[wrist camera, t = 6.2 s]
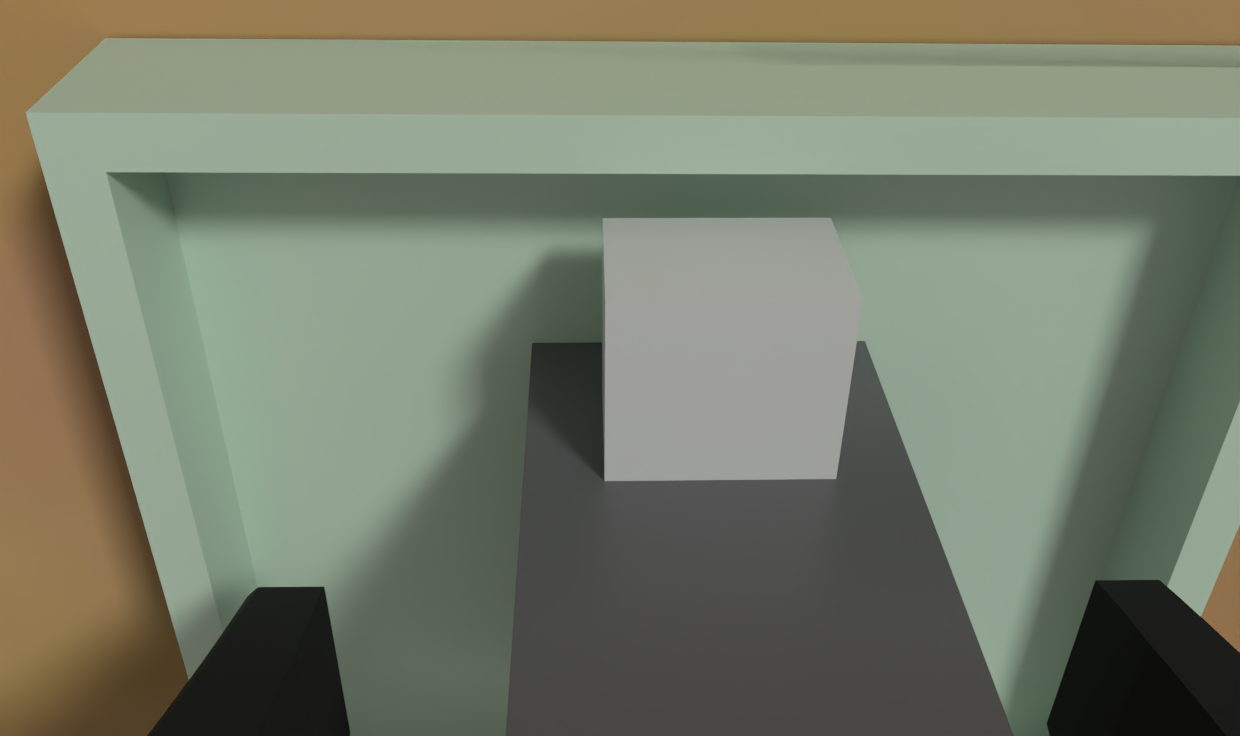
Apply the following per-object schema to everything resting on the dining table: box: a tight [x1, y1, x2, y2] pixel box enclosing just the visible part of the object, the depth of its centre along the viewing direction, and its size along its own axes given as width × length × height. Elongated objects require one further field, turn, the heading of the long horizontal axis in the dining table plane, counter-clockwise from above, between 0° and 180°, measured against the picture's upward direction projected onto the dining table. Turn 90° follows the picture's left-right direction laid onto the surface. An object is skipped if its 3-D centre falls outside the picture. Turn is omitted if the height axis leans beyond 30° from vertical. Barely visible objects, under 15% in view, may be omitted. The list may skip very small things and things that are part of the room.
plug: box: [506, 218, 1014, 736], centre depth 10 cm, size 7×3×6 cm, turn 179°
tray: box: [26, 38, 1240, 736], centre depth 13 cm, size 10×11×2 cm
